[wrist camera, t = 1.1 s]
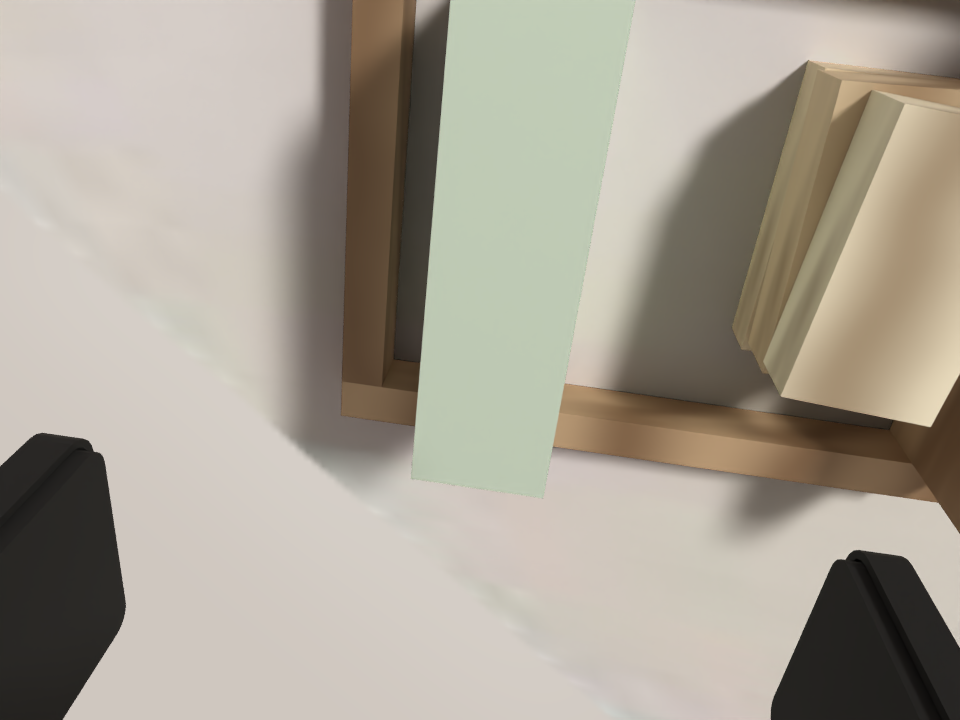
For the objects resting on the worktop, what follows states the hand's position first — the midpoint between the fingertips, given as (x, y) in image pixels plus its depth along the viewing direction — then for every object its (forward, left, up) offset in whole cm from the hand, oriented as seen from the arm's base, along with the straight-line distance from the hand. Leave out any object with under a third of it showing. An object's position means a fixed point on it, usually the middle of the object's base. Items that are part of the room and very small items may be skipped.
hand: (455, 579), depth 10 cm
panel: (0, 0, -21) cm, 21 cm away
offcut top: (-12, 0, -17) cm, 20 cm away
